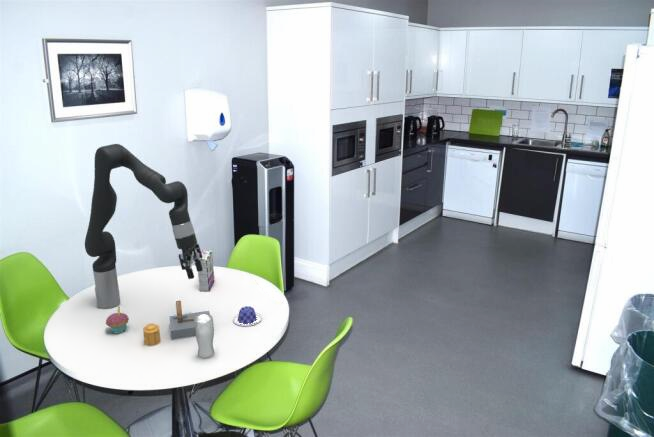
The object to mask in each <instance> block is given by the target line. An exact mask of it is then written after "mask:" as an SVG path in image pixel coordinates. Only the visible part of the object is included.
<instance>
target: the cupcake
mask: <svg viewBox="0 0 654 437" xmlns="http://www.w3.org/2000/svg"><path fill="white" fill-rule="evenodd" d="M120 311H121V308H120V305H118V306H117V312H115V313H112V314H110V315H109V316H107V318H106V320H105V325H106V326H108V327H110V329H111V331H112V333H115V334H120V333H123V332H124V331H125V330H126V326H127V324H128V322H129V319H130V318H129V316H128V315H127V314H126V313H124V312H120Z"/></svg>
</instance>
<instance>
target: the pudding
mask: <svg viewBox="0 0 654 437" xmlns="http://www.w3.org/2000/svg"><path fill="white" fill-rule="evenodd" d="M256 316H259V318H260V320H259V321H258V322H257V323H255V322H254V321H256V320H257V319H256V318H257V317H256ZM236 318H238V319H237V322H238V323H243V325H240V324H238V323H237V322H235V319H236ZM261 320H262V315H261V314H260V313H258V312H256V311H255V308H254V307H252V306H251V305H250V306H247V305H246V306H243V307H241V308H240V309H239V310H238V313H237V314H236V315H234V316H233V317H232V322H233V323H234V324H236V325H237V326H241V327H242V326H243V327H249V326H253V325H257V324H258V323H260V322H261ZM253 322H254V323H255V324H253ZM248 323H249V324H251V323H252V325H249V324H248ZM245 324H246V325H245Z"/></svg>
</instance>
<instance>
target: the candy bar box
mask: <svg viewBox="0 0 654 437" xmlns="http://www.w3.org/2000/svg"><path fill="white" fill-rule="evenodd" d="M201 253H202V258H201V265H202V268H203V270H202V271H199V272H198V271H197V276H198V277H197V278H198V286H199V288H198V289H199V292H211V289H212V287H213V286H214V283H215V271H214V261H213V250H202V251H201Z"/></svg>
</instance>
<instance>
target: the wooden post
mask: <svg viewBox="0 0 654 437" xmlns="http://www.w3.org/2000/svg"><path fill="white" fill-rule="evenodd" d="M175 309H176V315H177V320H178V323H182V322H183V317H182V314H183V309H182V301H181V300H176V301H175Z"/></svg>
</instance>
